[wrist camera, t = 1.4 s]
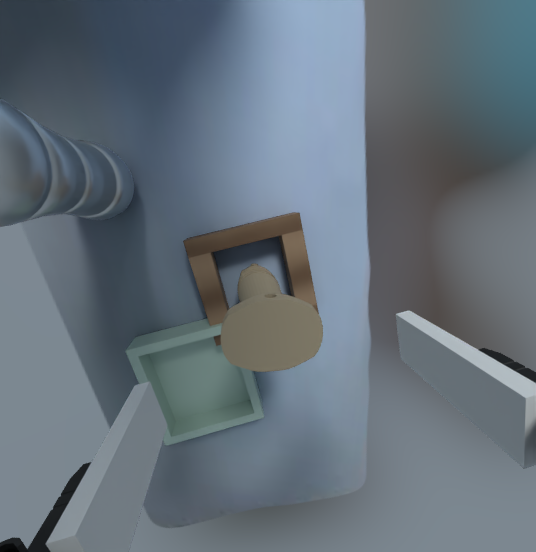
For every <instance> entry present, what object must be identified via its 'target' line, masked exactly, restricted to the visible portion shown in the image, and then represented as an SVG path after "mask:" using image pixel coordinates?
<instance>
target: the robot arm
mask: <svg viewBox="0 0 536 552" xmlns="http://www.w3.org/2000/svg"><path fill="white" fill-rule="evenodd" d="M396 321H397V329H398V339H399V348H400V357H401V359H402V360H403V361H404V362H405V363H406V364H407V365H408V366H409V367H410V368H412V369H413V370H414V371H415V372H416V373H417V374H418V375H419V376H421V377H422V378H423V379H424V380H425V381H426V382H427V383H428V384H430V385H431V386H432V387H433V388H434V389H435V390H436V391H437V392H438V393H440V394H441V395H442V396H443V397H444V398H445V399H446V400H447V401H449V402H450V403H451V404H452V405H453V406H454V407H455V408H456V409H458V410H459V411H460V412H461V413H462V414H463V415H464V416H465V417H466V418H468V419H469V420H470V421H471V422H472V423H473V424H474V425H476V426H477V427H478V428H479V429H480V430H481V431H482V432H483V433H484V434H486V435H487V436H488V437H489V438H490V439H491V440H492V441H493V442H494V443H496V444H497V445H498V446H499V447H500V448H501V449H502V450H504V451H505V452H506V453H507V454H508V455H509V456H510V457H511V458H512V459H513V460H515V461H516V462H517V463H518V464H519V465H520V466H521V467H522V468H524V469H525V468H527V467H531V466H534V465H536V372H534V371H532V370H531V369H529V368H525V366H523V365H521V364H519V363H518V362H514V361H513V360H512V359H510V358H508V357H506V356H505V355H503V354H501V353H498V352H495V351H492V350H488V349H485V348H482V349H479V350H477V349H475V348H474V347H472V346H470V345H468V344H467V343H465V342H463V341H462V340H460V339H458V338H456V337H454V336H453V335H451V334H449V333H447V332H446V331H444V330H442V329H441V328H439V327H437V326H435V325H434V324H432V323H430V322H428V321H427V320H425V319H423V318H421V317H419V316H418V315H416V314H415V313H413V312H411V311H405V312H402V313H398V314H396ZM166 429H167V423H166V420H165V418H164V415H163V413H162V410H161V408H160V405H159V403H158V400H157V398H156V395H155V393H154V390H153V388H152V385H151V383H150V381H149V382H146V383H142V384H138V385H135V386H134V388H133V389H132V391H131V393H130V395H129V396H128V398H127V400H126V402H125V404H124V405H123V407H122V409H121V411H120V412H119V414H118V416H117V418H116V420H115V421H114V423H113V425H112V427H111V428H110V430H109V432H108V434H107V436H106V437H105V439H104V441H103V443H102V445H101V446H100V448H99V450H98V452H97V453H96V455H95V457H94V459H93V461H92V462H90V463H86V464H83V465H82V467H81V468H80V469H79V470H78V471H77V472H76V473H75V474H74V475H73V476H72V477H71V479H70V480H69V482H68V483H67V485H66V487H65V488H64V490H63V492H62V493H61V497H59V498H58V500H57V501H56V503H55V505H54V507H53V510H51V511H50V513H49V515H48V516H47V518H46V520H45V521H44V523H43V524H42V526H41V528H40V530H39V531H38V533H37V535H36V536H35V538H34V539H33V541H32V543H31V544H30V546H29V548H28V549H27V548H26V547H25V545H24V544H23V542H22V541H21V539H20V538H10V539H8V540H5V541H3V542H1V543H0V552H129V549H130V546H131V543H132V540H133V536H134V533H135V530H136V527H137V523H138V520H139V517H140V514H141V510H142V507H143V504H144V501H145V497H146V494H147V491H148V487H149V484H150V481H151V478H152V474H153V471H154V468H155V465H156V461H157V458H158V455H159V451H160V448H161V445H162V442H163V438H164V435H165V432H166Z"/></svg>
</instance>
